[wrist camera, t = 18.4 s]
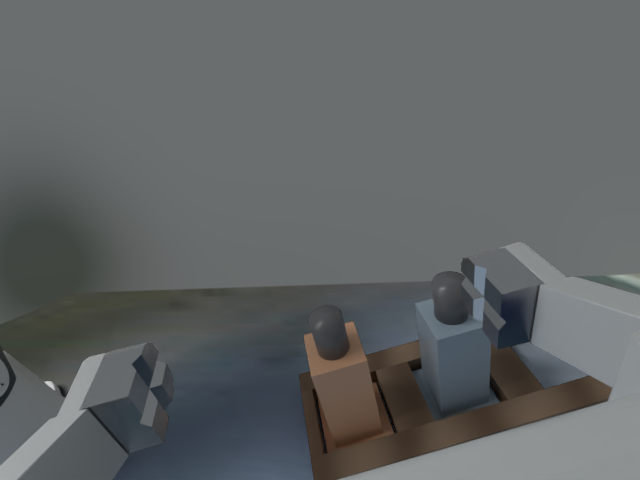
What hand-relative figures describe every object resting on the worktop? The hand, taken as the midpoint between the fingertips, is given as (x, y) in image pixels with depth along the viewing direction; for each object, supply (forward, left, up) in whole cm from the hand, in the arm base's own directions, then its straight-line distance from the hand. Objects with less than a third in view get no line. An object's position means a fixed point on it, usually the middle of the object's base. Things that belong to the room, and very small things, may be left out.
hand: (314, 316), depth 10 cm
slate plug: (+9, +12, -23) cm, 28 cm away
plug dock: (+9, +12, -23) cm, 28 cm away
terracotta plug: (0, +12, -23) cm, 26 cm away
